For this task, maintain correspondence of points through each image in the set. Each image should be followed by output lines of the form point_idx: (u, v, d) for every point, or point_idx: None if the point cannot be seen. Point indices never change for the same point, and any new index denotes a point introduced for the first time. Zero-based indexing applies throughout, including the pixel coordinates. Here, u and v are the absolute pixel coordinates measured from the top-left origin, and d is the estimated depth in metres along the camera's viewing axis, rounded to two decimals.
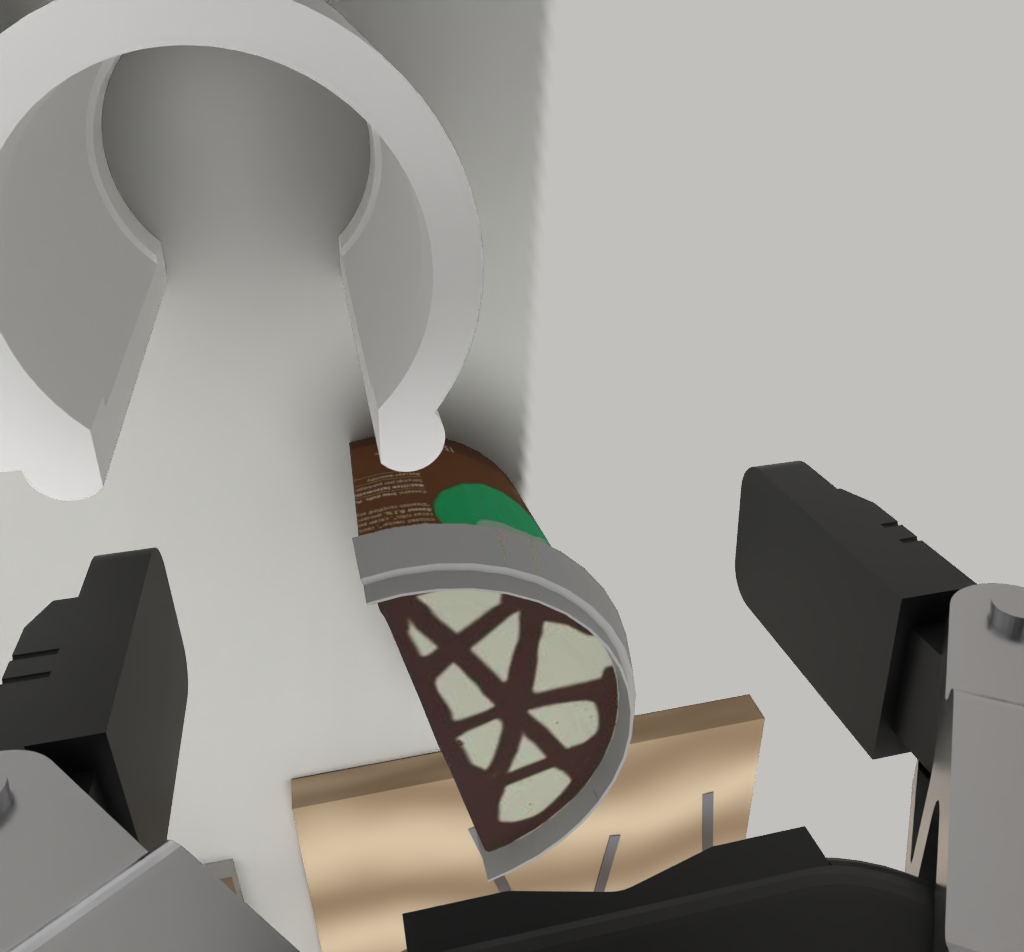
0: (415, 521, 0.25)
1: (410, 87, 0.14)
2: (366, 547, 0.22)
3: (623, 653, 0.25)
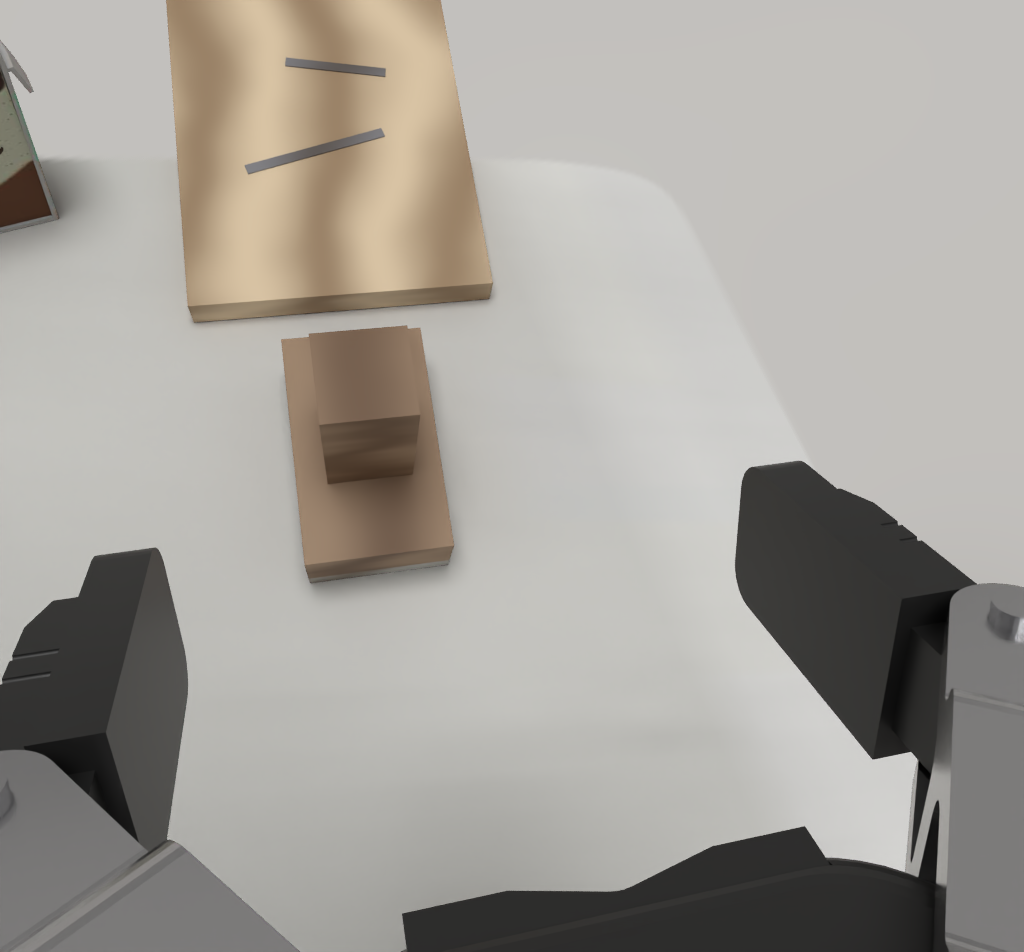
0: None
1: None
2: None
3: None
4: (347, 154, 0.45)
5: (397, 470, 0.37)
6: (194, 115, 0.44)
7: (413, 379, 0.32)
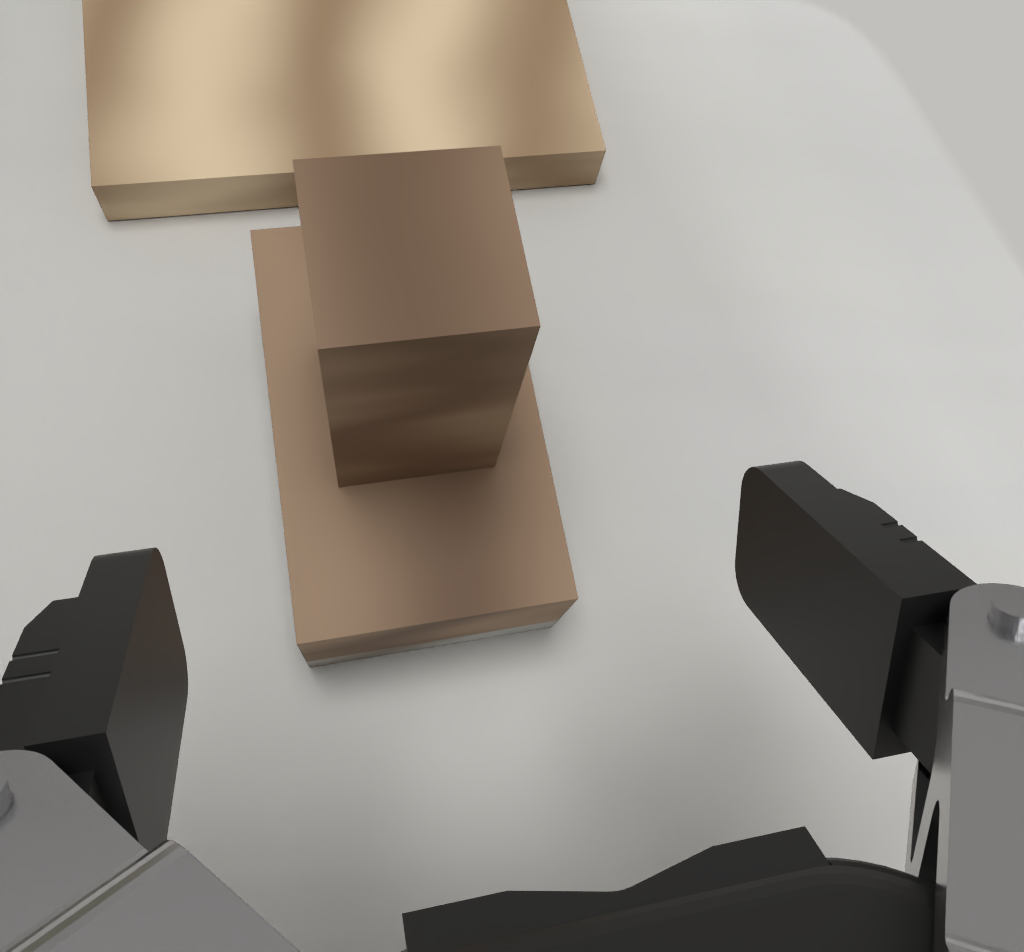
0: None
1: None
2: None
3: None
4: None
5: (469, 459, 0.20)
6: None
7: (521, 252, 0.15)
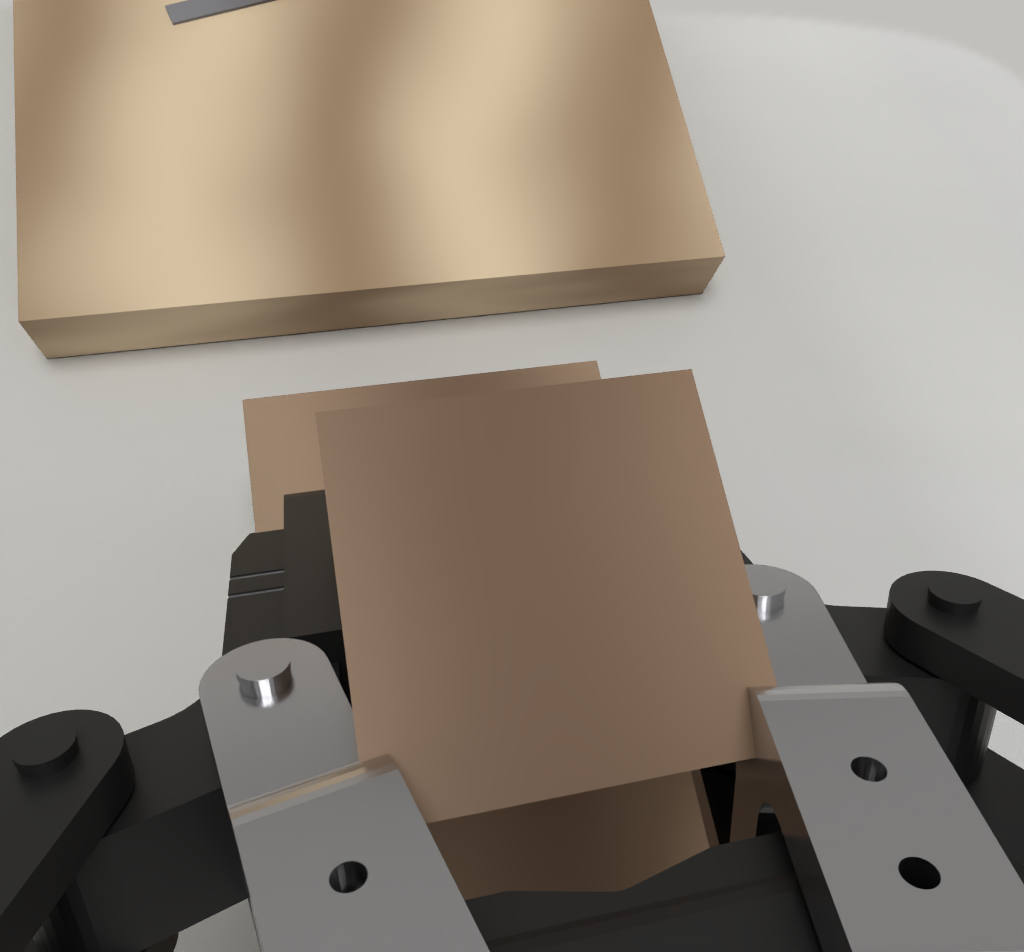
0: None
1: None
2: None
3: None
4: None
5: None
6: None
7: (745, 588, 0.08)
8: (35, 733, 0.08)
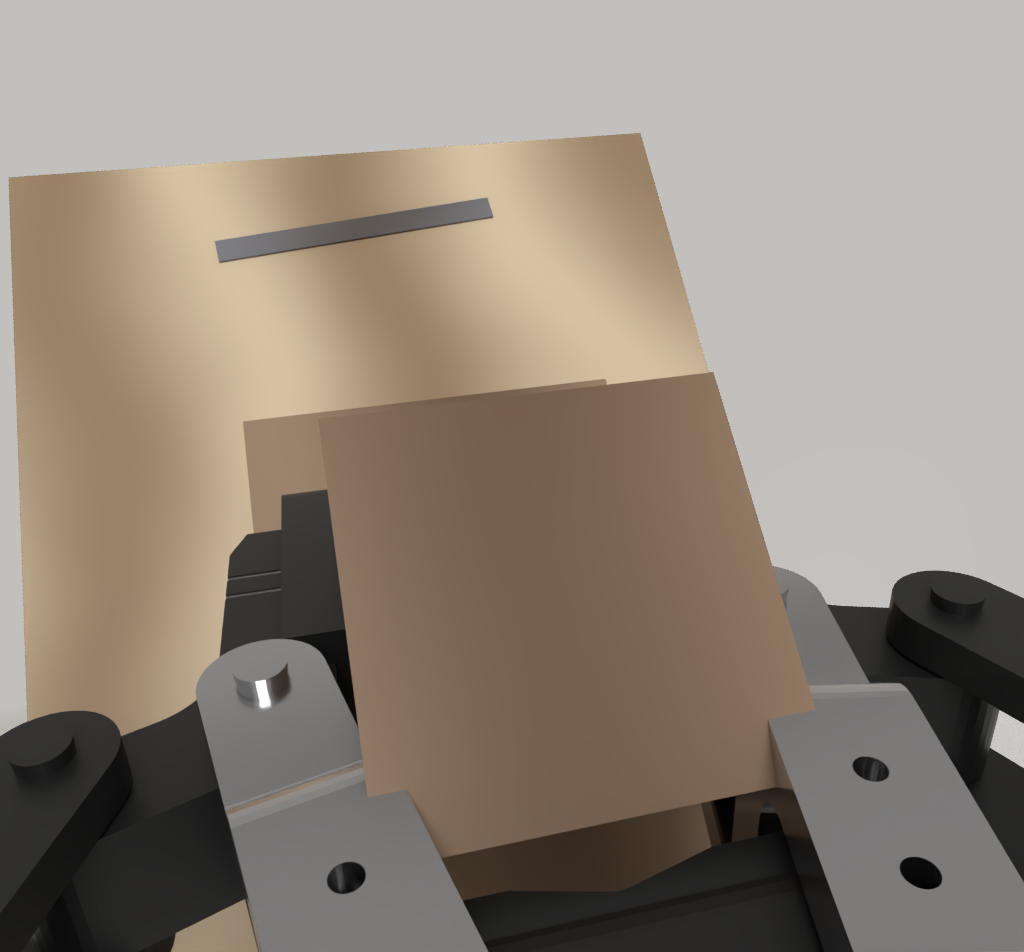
0: None
1: None
2: None
3: None
4: None
5: None
6: (79, 620, 0.16)
7: (778, 602, 0.07)
8: None
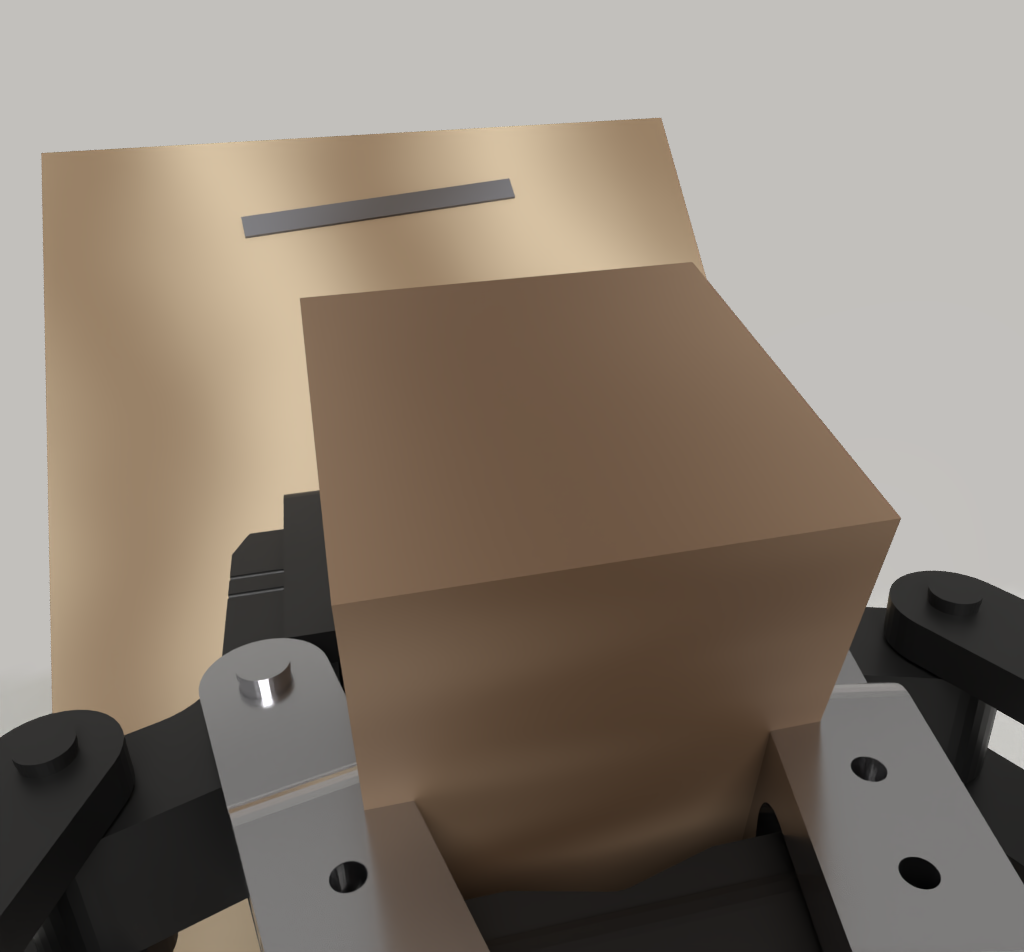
0: None
1: None
2: None
3: None
4: None
5: None
6: (104, 582, 0.17)
7: (793, 395, 0.07)
8: (35, 733, 0.08)
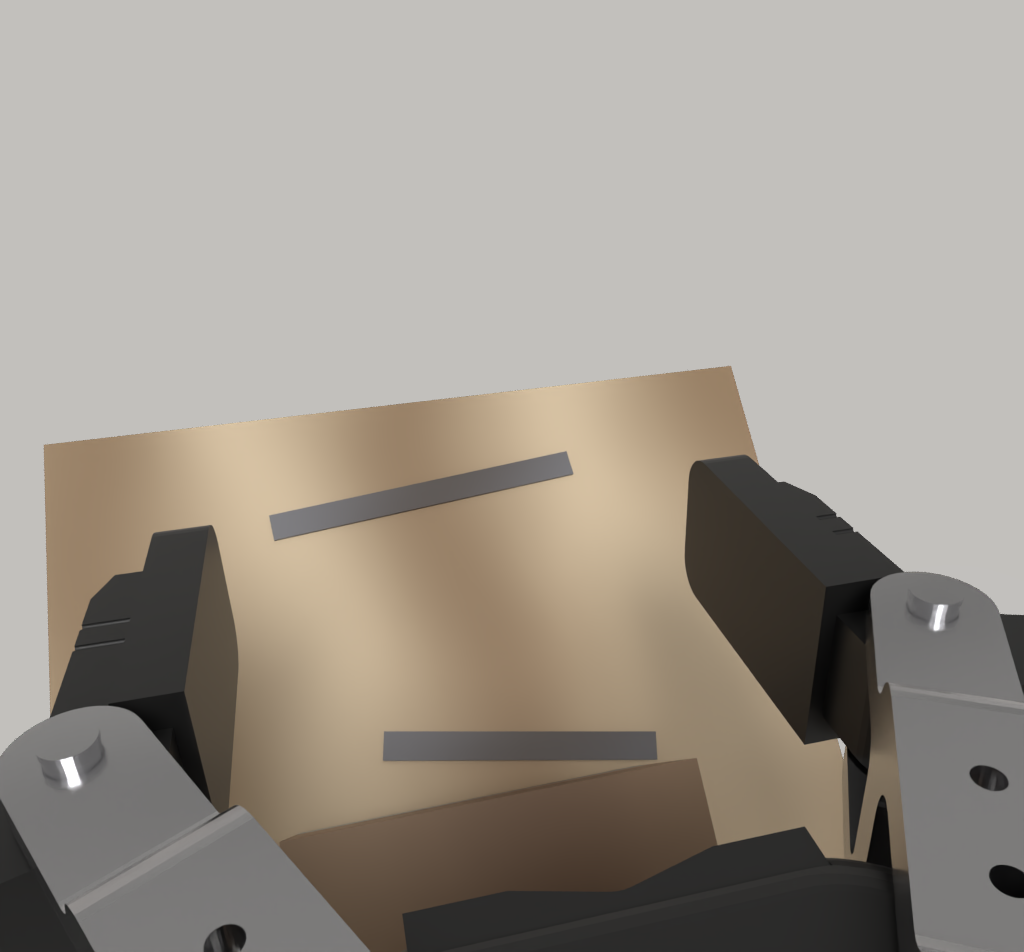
0: None
1: None
2: None
3: None
4: None
5: None
6: None
7: None
8: None
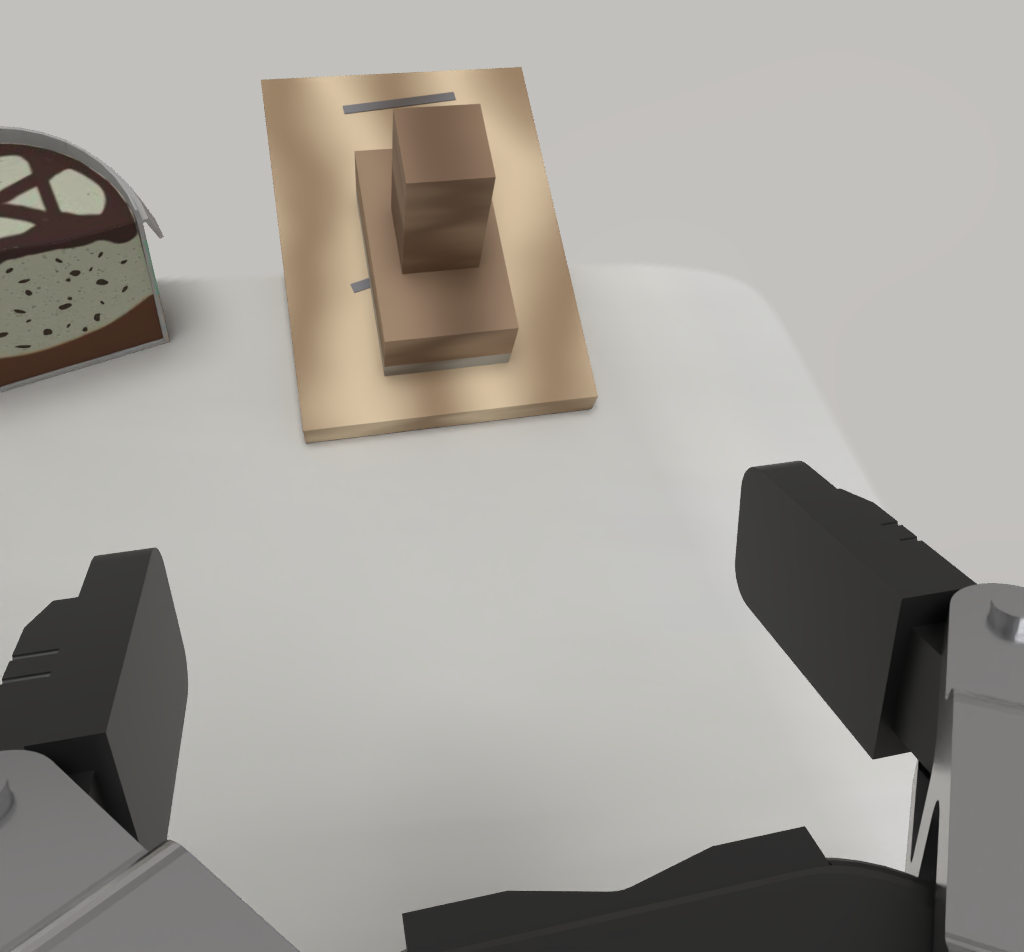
0: None
1: None
2: None
3: None
4: None
5: (466, 259, 0.41)
6: (299, 234, 0.45)
7: (488, 147, 0.36)
8: None
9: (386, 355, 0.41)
